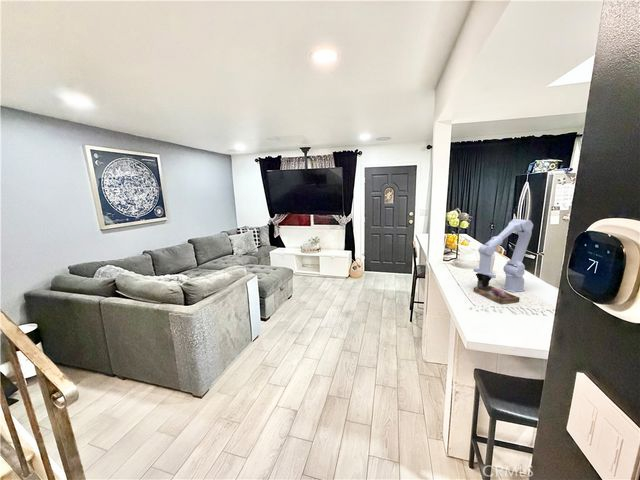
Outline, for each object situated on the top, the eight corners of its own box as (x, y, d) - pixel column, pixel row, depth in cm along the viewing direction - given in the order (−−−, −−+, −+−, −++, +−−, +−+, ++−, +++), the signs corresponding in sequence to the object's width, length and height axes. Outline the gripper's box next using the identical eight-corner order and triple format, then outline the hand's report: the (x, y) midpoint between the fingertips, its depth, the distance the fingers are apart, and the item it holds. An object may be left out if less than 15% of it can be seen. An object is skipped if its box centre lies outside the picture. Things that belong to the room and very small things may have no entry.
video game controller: (491, 297, 153) (487, 287, 152) (498, 293, 153) (494, 284, 152) (504, 304, 143) (500, 294, 142) (512, 300, 143) (508, 290, 142)
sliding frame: (472, 291, 159) (473, 281, 158) (488, 289, 161) (489, 279, 160) (501, 304, 140) (502, 292, 139) (519, 301, 142) (520, 290, 141)
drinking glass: (491, 272, 194) (493, 253, 191) (494, 275, 187) (496, 255, 185) (481, 272, 196) (483, 253, 193) (483, 274, 190) (485, 255, 187)
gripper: (470, 262, 162) (468, 282, 165) (489, 268, 148) (487, 290, 151) (479, 261, 164) (477, 281, 166) (499, 267, 150) (497, 289, 152)
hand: (482, 285), depth 158 cm, fingers closed on sliding frame, 2 cm apart
